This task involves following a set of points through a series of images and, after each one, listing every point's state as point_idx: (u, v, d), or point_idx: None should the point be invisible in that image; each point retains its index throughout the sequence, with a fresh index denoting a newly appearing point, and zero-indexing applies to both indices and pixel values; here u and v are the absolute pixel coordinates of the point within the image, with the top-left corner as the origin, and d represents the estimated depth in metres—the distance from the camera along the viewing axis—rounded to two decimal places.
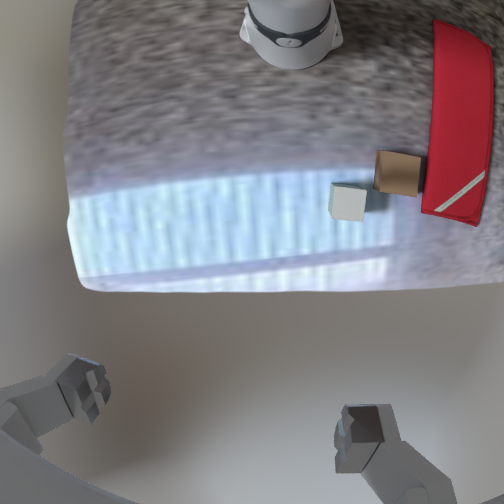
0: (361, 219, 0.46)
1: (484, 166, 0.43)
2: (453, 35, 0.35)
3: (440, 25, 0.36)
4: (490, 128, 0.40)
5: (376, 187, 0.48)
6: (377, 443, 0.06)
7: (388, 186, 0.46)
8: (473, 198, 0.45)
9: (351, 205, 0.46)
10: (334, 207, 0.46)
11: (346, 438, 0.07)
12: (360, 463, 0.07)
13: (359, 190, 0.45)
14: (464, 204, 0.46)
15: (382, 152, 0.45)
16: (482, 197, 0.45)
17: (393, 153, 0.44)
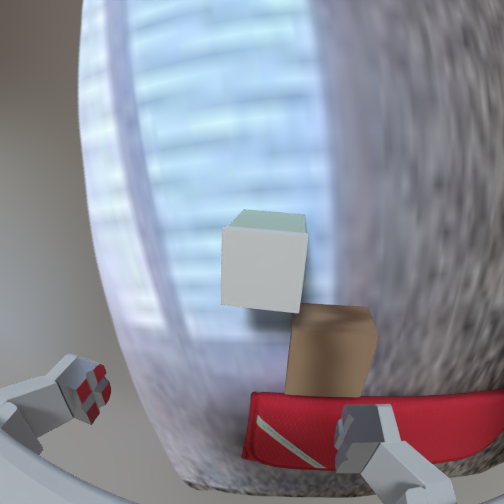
0: (227, 301, 0.20)
1: (332, 467, 0.31)
2: None
3: None
4: None
5: (298, 316, 0.25)
6: (377, 443, 0.06)
7: (304, 346, 0.23)
8: (283, 459, 0.31)
9: (259, 277, 0.19)
10: (251, 235, 0.18)
11: (346, 438, 0.07)
12: (360, 463, 0.07)
13: (298, 296, 0.19)
14: (273, 449, 0.30)
15: (373, 330, 0.22)
16: (286, 467, 0.32)
17: (371, 353, 0.22)
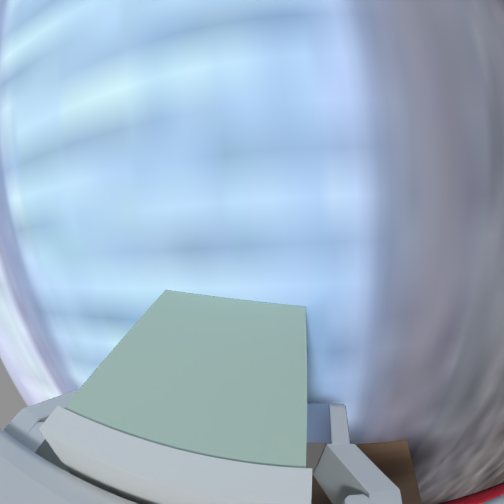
0: None
1: None
2: None
3: None
4: None
5: None
6: (323, 444, 0.06)
7: None
8: None
9: None
10: (115, 471, 0.04)
11: None
12: (310, 463, 0.07)
13: None
14: None
15: (414, 500, 0.08)
16: None
17: None
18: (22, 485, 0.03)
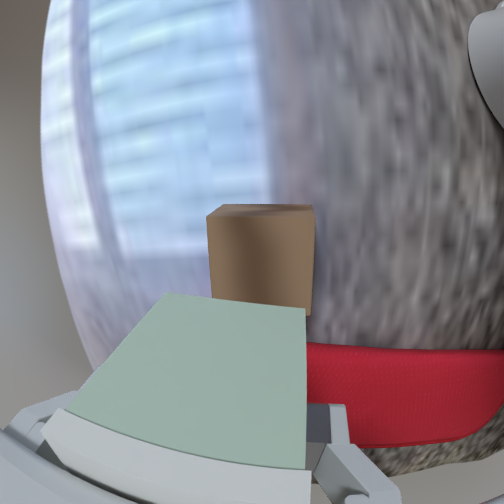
0: None
1: None
2: None
3: None
4: None
5: (221, 209, 0.22)
6: (323, 444, 0.06)
7: (223, 236, 0.20)
8: None
9: None
10: (115, 473, 0.04)
11: None
12: (310, 463, 0.07)
13: None
14: None
15: (309, 214, 0.19)
16: None
17: (311, 244, 0.19)
18: (22, 485, 0.03)
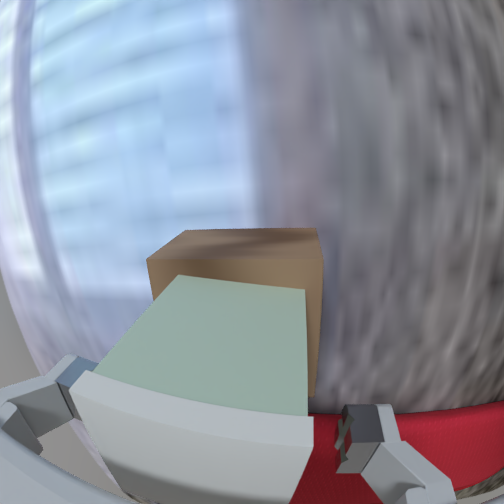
0: (130, 490, 0.07)
1: None
2: None
3: None
4: None
5: (176, 242, 0.14)
6: (377, 443, 0.06)
7: None
8: None
9: (183, 485, 0.06)
10: (140, 423, 0.05)
11: (346, 438, 0.07)
12: (360, 463, 0.07)
13: None
14: None
15: (313, 251, 0.12)
16: None
17: (316, 301, 0.11)
18: (22, 485, 0.03)
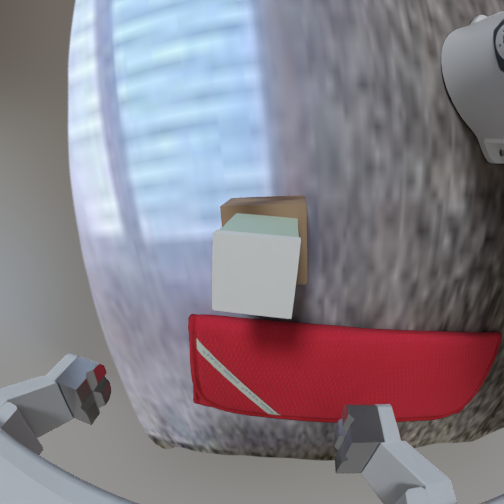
0: (218, 306, 0.19)
1: (285, 414, 0.34)
2: (480, 365, 0.29)
3: (494, 345, 0.28)
4: None
5: (231, 201, 0.27)
6: (377, 443, 0.06)
7: None
8: (231, 399, 0.34)
9: (251, 282, 0.19)
10: (243, 239, 0.18)
11: (346, 438, 0.07)
12: (360, 463, 0.07)
13: (290, 301, 0.19)
14: (219, 386, 0.33)
15: (301, 201, 0.25)
16: (237, 411, 0.35)
17: (304, 224, 0.24)
18: (22, 485, 0.03)
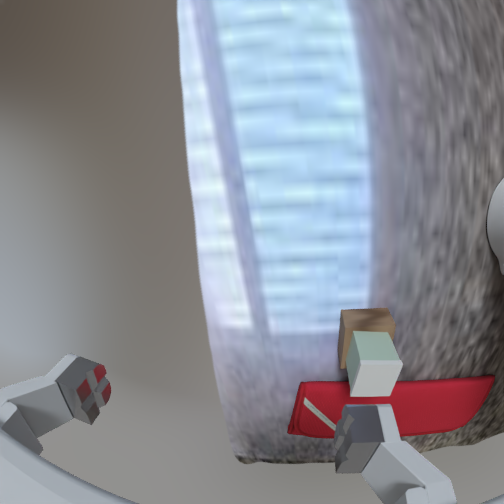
0: (354, 394, 0.31)
1: None
2: (479, 397, 0.40)
3: (489, 384, 0.40)
4: None
5: (346, 318, 0.39)
6: (377, 443, 0.06)
7: None
8: (319, 430, 0.46)
9: (374, 383, 0.30)
10: (375, 366, 0.30)
11: (346, 438, 0.07)
12: (360, 463, 0.07)
13: (391, 389, 0.30)
14: (313, 423, 0.45)
15: (392, 321, 0.36)
16: (320, 437, 0.47)
17: (392, 336, 0.36)
18: (22, 485, 0.03)
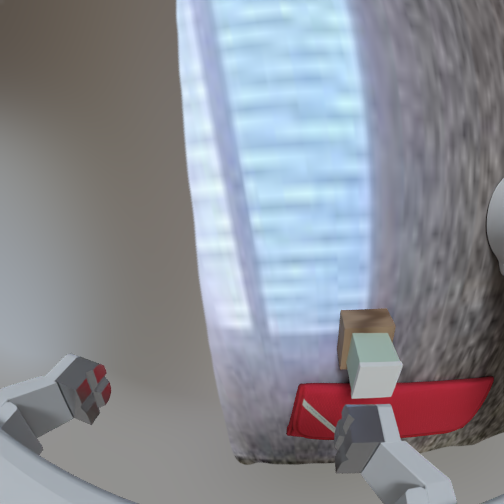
0: (355, 396, 0.31)
1: None
2: (478, 398, 0.41)
3: (488, 385, 0.40)
4: None
5: (345, 319, 0.39)
6: (377, 443, 0.06)
7: None
8: (318, 431, 0.46)
9: (375, 384, 0.30)
10: (375, 367, 0.30)
11: (346, 438, 0.07)
12: (360, 463, 0.07)
13: (392, 389, 0.30)
14: (312, 424, 0.45)
15: (391, 322, 0.36)
16: (319, 438, 0.47)
17: (392, 336, 0.36)
18: (22, 485, 0.03)
